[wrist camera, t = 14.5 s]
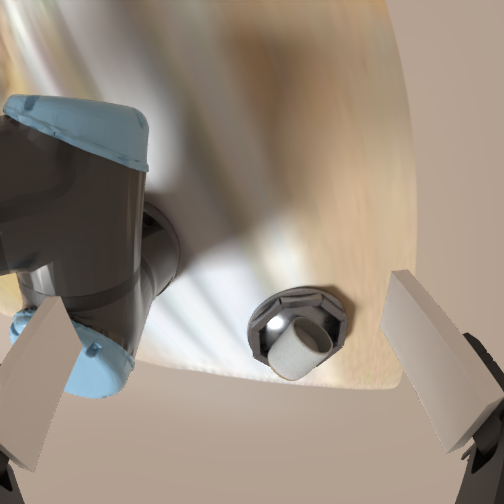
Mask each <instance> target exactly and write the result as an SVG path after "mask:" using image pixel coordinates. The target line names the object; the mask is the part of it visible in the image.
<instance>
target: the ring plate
mask: <svg viewBox="0 0 504 504" xmlns="http://www.w3.org/2000/svg"><path fill="white" fill-rule="evenodd" d="M296 317H306V318H309V319H311V320H313V321H314V322H316V323H318V324H319V325H320V326H321V327H322V328H323V329H324V330H325V331H326V332H327V333H328V335H329V337H330V339H331V341H332V343H333V348H332V351H331V352H330V354H329V355H328V356H327V357H326V358H324V359H323V360H322V361H321V362H320V363H319V364H318V365H316V367H318V366H319V365H320V364H322V363H323V362H324V361H326V360H327V359H328V358H330V357H331V356H332V355H333V354H335V353H336V352H337V351H339V350H340V349H341V348H342V346H344V342H345V336H346V331H347V325H348V317H347V315H346V312H345V310H344V308H343V306H342V304H341V303H340V301H339V300H338V299H337V298H336V297H335V296H333V295H332V294H331V293H329V292H327V291H324V290H321V289H317V288H310V287H301V288H293V289H289V290H285V291H282V292H280V293H277V294H275V295H273V296H271V297H270V298H268V299H267V300H265V301H264V302H263V303H262V304H261V305H260V306H259V307H258V308H257V309H256V310H255V311H254V313H253V314H252V316H251V318H250V320H249V323H248V328H247V336H248V342H249V345H250V348H251V349H252V351H253V357H254V358H255V359H257V360H258V361H260V362H262V363H264V364H266V365H268V366H270V365H269V362H268V353H269V351H270V349H271V347H272V345H273V344H274V343H275V342H276V340H277V339H278V338H279V337H280V335H281V334H282V333H283V332H284V330H285V329H286V328H287V327H288V325H289V324H290V323H291V321H292V320H293V319H294V318H296ZM314 368H315V367H314Z"/></svg>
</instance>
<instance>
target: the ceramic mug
mask: <svg viewBox="0 0 504 504" xmlns="http://www.w3.org/2000/svg"><path fill="white" fill-rule="evenodd" d="M332 348H333V343H332V341H331V339H330V337H329V335H328V333H327V332H326V331H325V330H324V329H323V328H322V327H321V326H320V325H319V324H318V323H316V322H314V321H313V320H311V319H309V318H306V317H296V318H294V319H293V320H292V321H291V323H290V324H289V325H288V327H287V328H286V329H285V330H284V332H283V333H282V334H281V335H280V337H279V338H278V339H277V340H276V342H275V343H274V344H273V345H272V347H271V349H270V351H269V353H268V362H269V365H270V367H271V368H272V370H273V371H274V372H275V373H276V374H277V375H278V376H280V377H281V378H283V379H286V380H289V381H295V380H298V379H301V378H302V377H304V376H305V375H307V374H308V373H309V372H310V371H311V370H312V369H313V368H314V367H315V366H316V365H318V364H319V363H320V362H321V361H322V360H323V359H324V358H326V357H327V356H328V355H329V354H330V352H331V351H332Z"/></svg>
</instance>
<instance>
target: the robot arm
mask: <svg viewBox="0 0 504 504" xmlns="http://www.w3.org/2000/svg"><path fill="white" fill-rule="evenodd" d="M3 113H5V115H2V116H0V276H1V275H6V274H10V273H11V274H12V273H16V274H17V278H18V283H19V288H20V292H21V296H22V300H23V306H22V309H21V310H20V311H19V312H17V313H16V314H15V315H14V318H13V323H12V325H11V327H10V340H11V343H12V348H11V349H10V351H9V352H8V354H7V356H6V357H5V359H4V360H3V362H2V364H0V504H25V503H24V501H23V498H22V496H21V493H20V490H19V488H18V484H17V481H16V479H15V475H14V473H13V470H12V468H11V466H10V465H9V464H8V461H9V459H10V460H12V461H13V462H14V463H15V464H17V465H18V466H19V467H21V468H23V469H26V470H29V471H31V472H35V469H36V465H37V462H38V459H39V456H40V453H41V450H42V447H43V444H44V441H45V438H46V435H47V432H48V429H49V427H50V424H51V421H52V419H53V416H54V413H55V411H56V408H57V406H58V403H59V401H60V398H61V395H62V393H63V391H65V392H68V393H71V394H73V395H77V396H81V397H86V398H106V397H107V396H113V395H115V394H117V393H119V392H120V391H121V390H122V389H123V388H124V386H125V384H126V383H127V380H128V377H129V374H130V372H131V371H132V370H133V369H134V365H135V362H134V359H135V356H136V352H137V349H138V345H139V342H140V339H141V335H142V332H143V329H144V326H145V323H146V319H147V316H148V313H149V310H150V307H151V304H152V301H153V300H154V299H155V298H156V297H157V296H158V295H160V294H161V293H162V292H163V291H164V290H165V289H166V288H167V287H168V286H169V285H170V283H171V282H172V280H173V278H174V276H175V274H176V270H177V267H178V264H179V259H180V246H179V241H178V237H177V235H176V232H175V230H174V228H173V226H172V225H171V223H170V222H169V220H168V219H167V218H166V217H165V216H164V215H163V214H162V213H161V212H160V211H159V210H158V209H156V208H155V207H154V206H152V205H150V204H148V203H146V202H144V192H145V181H146V172H148V171H149V166H148V164H147V146H148V133H149V127H148V123H147V120H146V118H145V116H144V115H143V114H142V113H141V112H140V111H139V110H137V109H135V108H132V107H129V106H124V105H119V104H113V103H107V102H100V101H93V100H86V99H78V98H68V97H57V96H40V95H21V94H15V95H11V96H10V97H9V98H8V99H7V102H6V104H5V105H4V107H3ZM380 328H381V329H382V331H383V333H384V335H385V336H386V338H387V340H388V342H389V343H390V345H391V347H392V349H393V351H394V352H395V354H396V356H397V358H398V360H399V362H400V363H401V365H402V367H403V369H404V371H405V373H406V375H407V376H408V378H409V380H410V382H411V384H412V386H413V388H414V390H415V392H416V393H417V396H418V398H419V400H420V401H421V403H422V406H423V408H424V409H425V412H426V414H427V416H428V417H429V420H430V422H431V424H432V426H433V428H434V430H435V432H436V434H437V437H438V439H439V441H440V443H441V445H442V447H443V450H444V452H445V454H448V453H450V452H452V451H454V450H456V449H458V448H460V447H462V446H464V445H465V444H466V443H467V442H468V440H470V438H471V437H473V439H474V441H475V443H474V444H473V445H472V446H471V447H470V448H469V449H468V450H467V451H466V452H465V453H464V454H463V456H462V458H461V459H462V460H464V459H465V458H466V457H467V456H468V455H469V454H470V456H469V459H468V460H467V461H468V464H467V467H466V471H465V475H464V478H463V481H462V485H461V487H460V491H459V494H458V496H457V499H456V502H455V504H504V373H503V372H502V370H501V369H500V368H499V366H498V365H497V363H496V362H495V361H493V358H492V357H491V355H490V354H489V353H487V350H486V349H485V348H484V346H483V345H482V344H481V342H480V341H479V340H478V339H476V338H475V337H473V336H472V335H470V334H469V333H465V334H462V333H461V332H460V331H459V329H458V328H457V327H456V326H455V324H454V323H453V322H452V321H451V319H450V318H449V317H448V316H447V315H446V313H445V312H444V311H443V310H442V308H441V307H440V306H439V305H438V304H437V303H436V301H435V300H434V299H433V298H432V297H431V295H430V294H429V293H428V292H427V291H426V290H425V288H424V287H423V286H422V285H421V284H420V283H419V282H418V280H417V279H416V278H415V277H414V276H413V275H412V274H411V273H410V271H409V270H408V269H407V270H399V271H392V272H391V277H390V282H389V287H388V292H387V296H386V301H385V305H384V310H383V314H382V318H381V322H380Z"/></svg>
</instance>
